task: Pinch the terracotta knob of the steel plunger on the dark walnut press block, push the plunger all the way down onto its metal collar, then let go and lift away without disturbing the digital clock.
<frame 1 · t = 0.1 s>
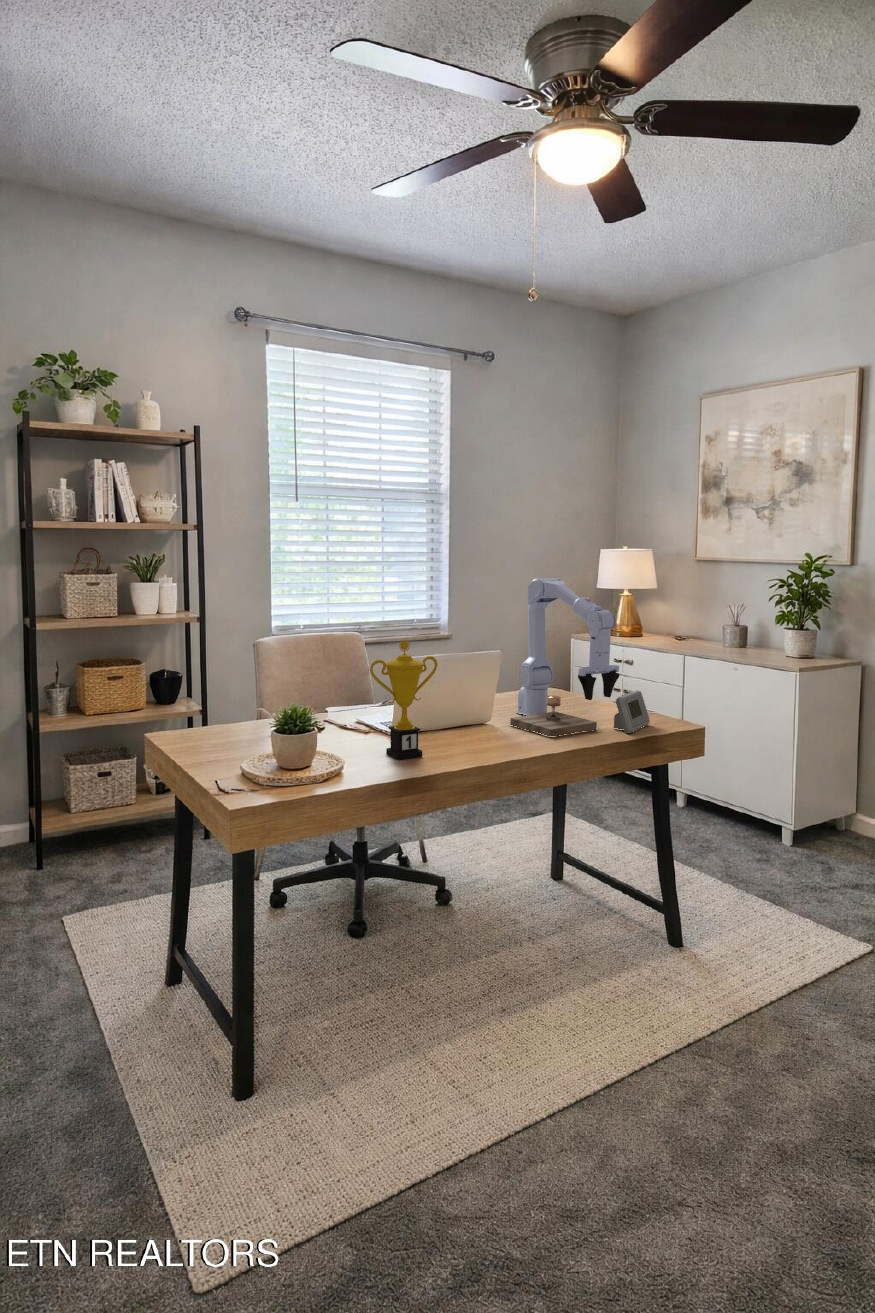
hand: (597, 698, 234), 10 cm above the table, tool pointing down, fingers open, 7 cm apart
digital clock: (632, 729, 240), on the table
plunger: (553, 706, 239), point 7 cm above the table, slide at 0.0 cm
trophy: (404, 756, 207), on the table
press block: (552, 728, 240), on the table
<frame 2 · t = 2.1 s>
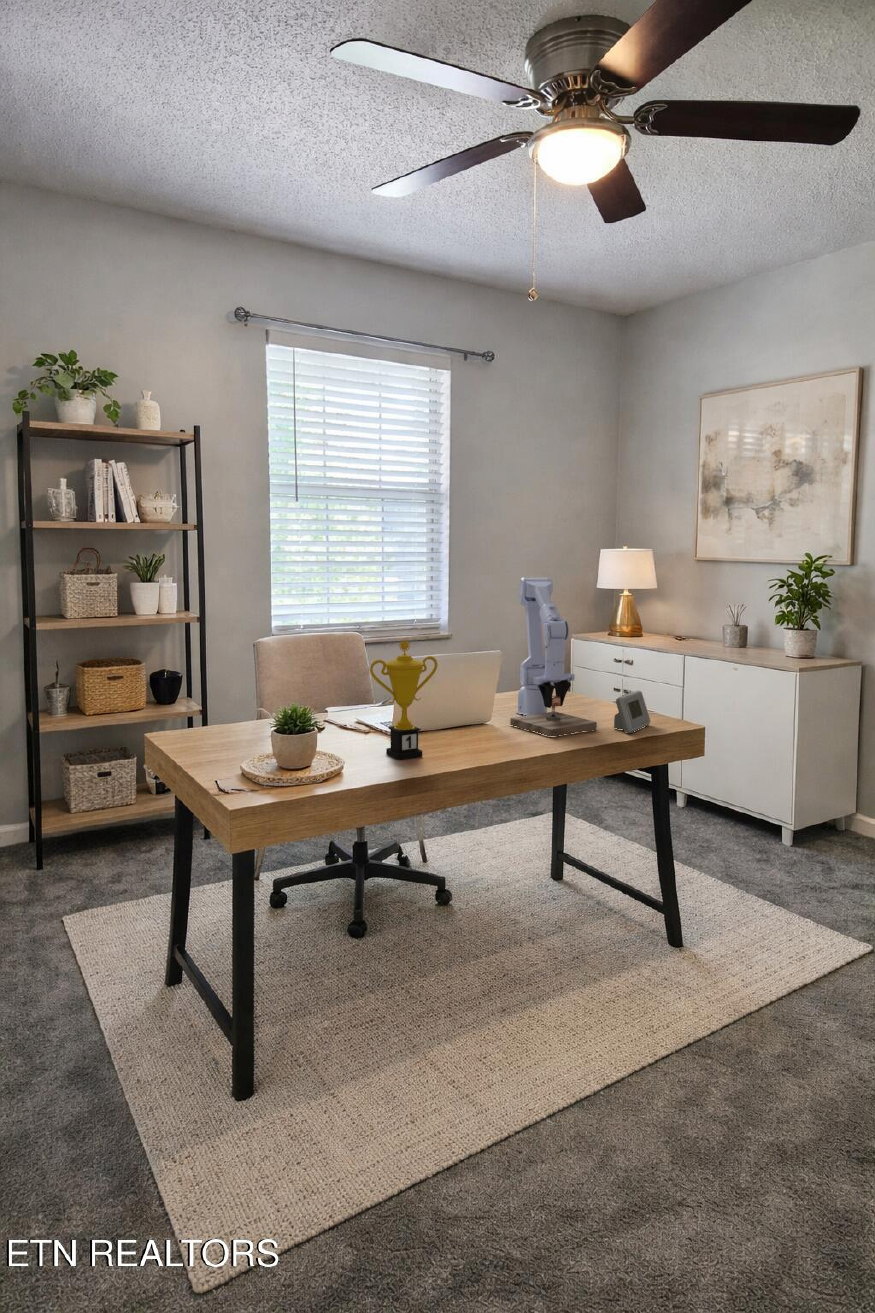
hand: (553, 706, 239), 7 cm above the table, tool pointing down, fingers closed on plunger, 4 cm apart
plunger: (553, 706, 239), point 7 cm above the table, slide at 0.0 cm, touching gripper
everything else where it was.
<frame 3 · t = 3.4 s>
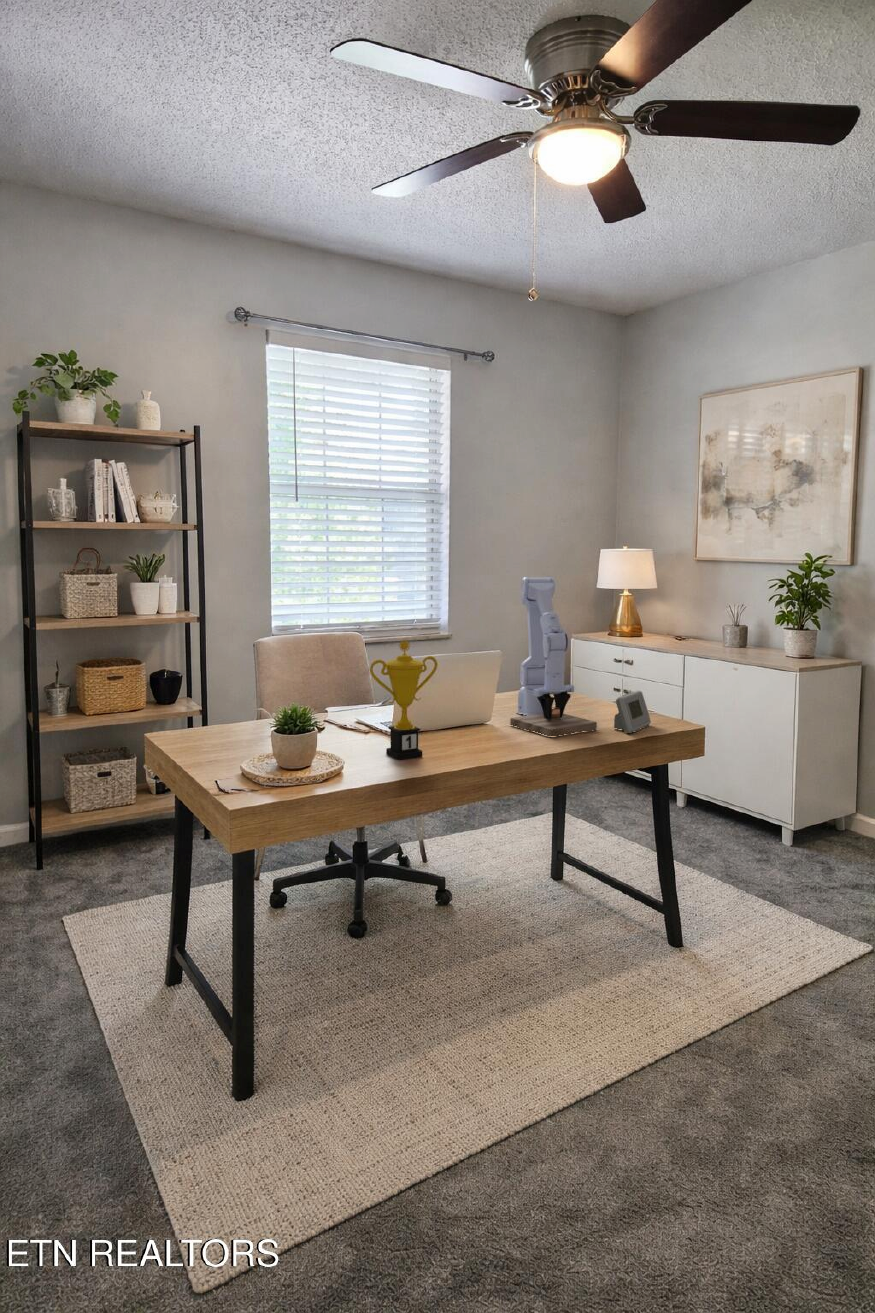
hand: (553, 717, 239), 3 cm above the table, tool pointing down, fingers closed on plunger, 4 cm apart
plunger: (553, 718, 239), point 3 cm above the table, slide at 3.5 cm, touching gripper
everything else where it was.
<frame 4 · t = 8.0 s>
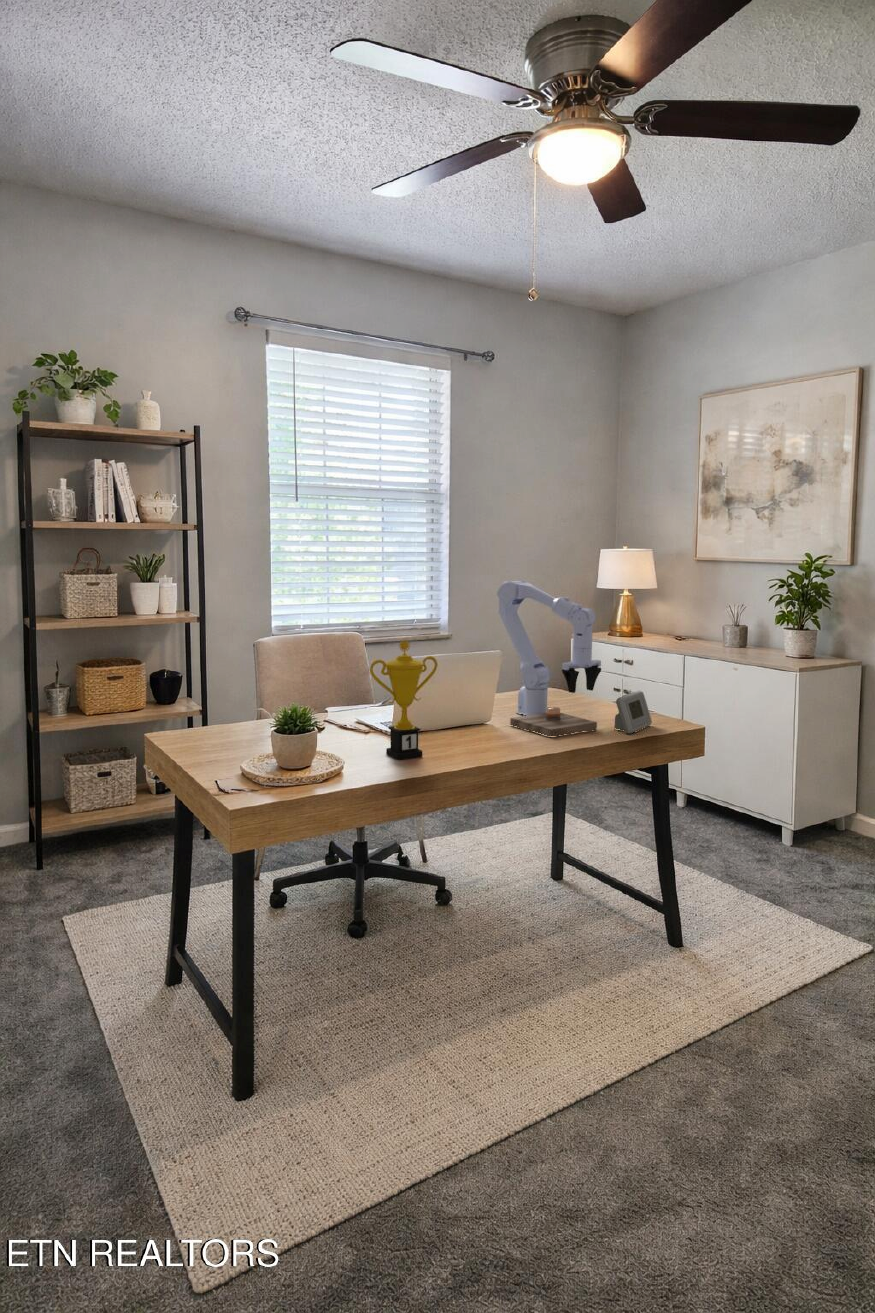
hand: (581, 691, 249), 9 cm above the table, tool pointing down, fingers open, 7 cm apart
plunger: (553, 718, 239), point 3 cm above the table, slide at 3.5 cm
everything else where it was.
at the end: plunger slide at 3.5 cm; the gripper is holding nothing; digital clock moved 0.9 cm from its start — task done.
